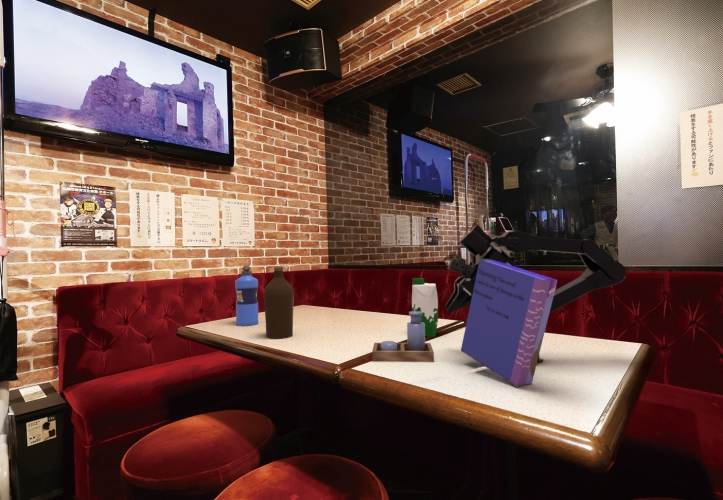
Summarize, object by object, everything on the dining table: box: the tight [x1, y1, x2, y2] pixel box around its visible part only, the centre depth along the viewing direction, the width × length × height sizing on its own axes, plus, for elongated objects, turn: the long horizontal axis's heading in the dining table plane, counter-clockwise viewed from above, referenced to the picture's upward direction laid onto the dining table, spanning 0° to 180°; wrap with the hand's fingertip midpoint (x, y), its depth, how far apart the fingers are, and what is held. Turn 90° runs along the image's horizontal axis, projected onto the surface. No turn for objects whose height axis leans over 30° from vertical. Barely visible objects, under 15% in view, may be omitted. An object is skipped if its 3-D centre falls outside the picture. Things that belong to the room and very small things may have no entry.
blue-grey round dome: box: [380, 340, 398, 351], centre depth 104 cm, size 4×4×4 cm
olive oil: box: [263, 266, 295, 340], centre depth 137 cm, size 11×11×25 cm
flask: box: [406, 310, 426, 351], centre depth 104 cm, size 5×5×12 cm
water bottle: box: [234, 265, 259, 327], centre depth 162 cm, size 9×9×25 cm
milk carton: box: [411, 277, 439, 338], centre depth 135 cm, size 9×9×20 cm
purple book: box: [460, 258, 558, 388], centre depth 87 cm, size 17×5×24 cm, turn 28°
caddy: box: [371, 342, 435, 363], centre depth 104 cm, size 16×10×4 cm, turn 85°
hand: (447, 309), depth 103 cm, fingers open, 9 cm apart
